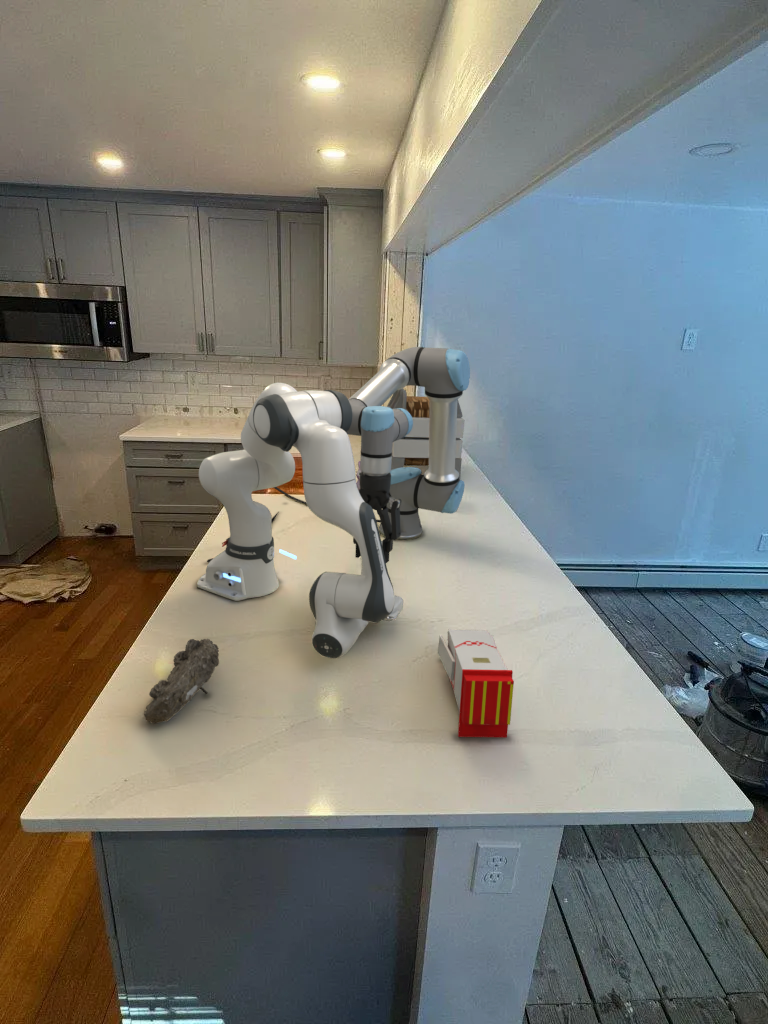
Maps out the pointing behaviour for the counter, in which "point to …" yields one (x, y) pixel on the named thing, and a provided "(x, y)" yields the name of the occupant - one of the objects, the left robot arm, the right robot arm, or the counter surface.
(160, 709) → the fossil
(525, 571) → the counter surface
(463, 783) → the counter surface
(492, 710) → the toy
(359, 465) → the figurine
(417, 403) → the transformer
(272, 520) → the feather
